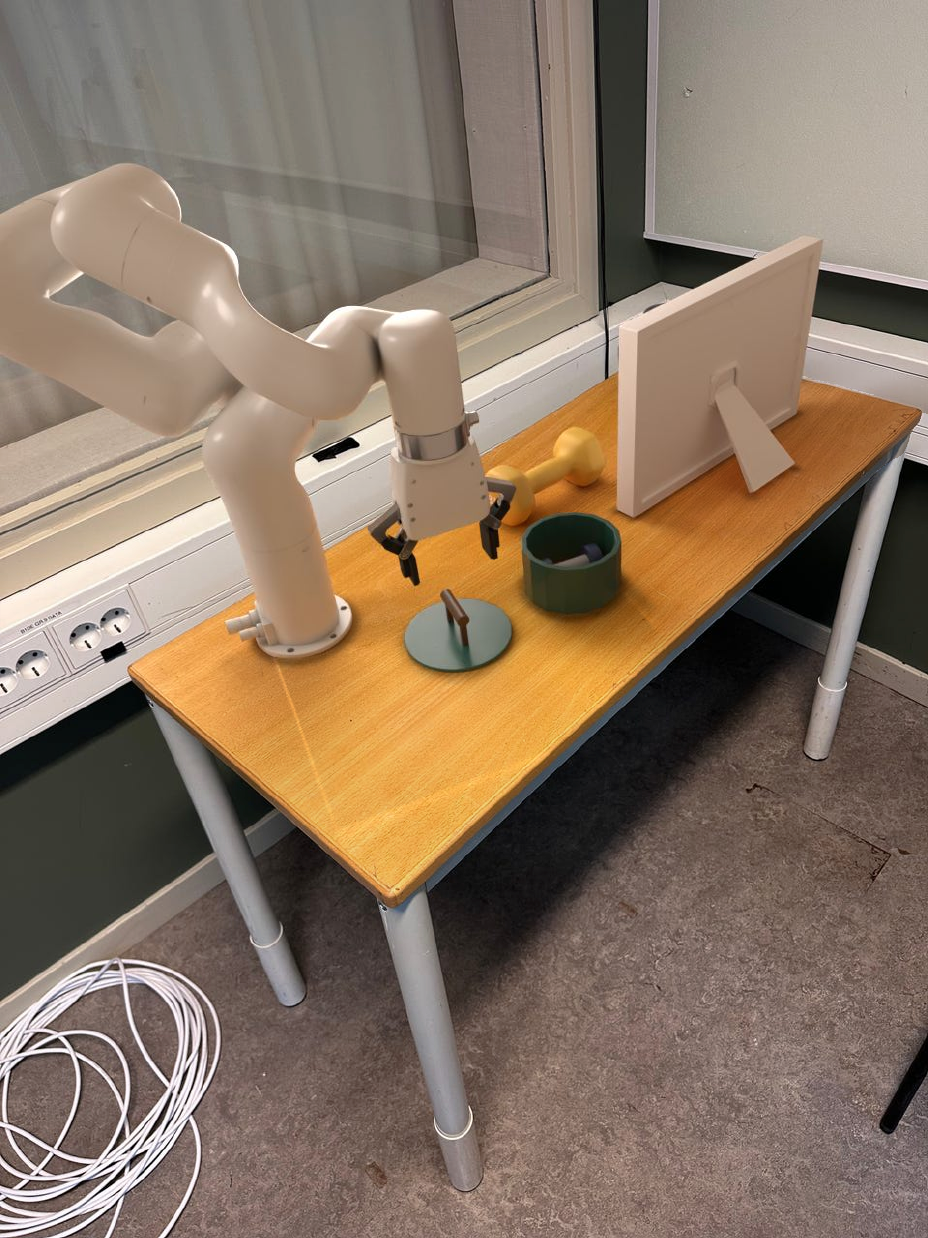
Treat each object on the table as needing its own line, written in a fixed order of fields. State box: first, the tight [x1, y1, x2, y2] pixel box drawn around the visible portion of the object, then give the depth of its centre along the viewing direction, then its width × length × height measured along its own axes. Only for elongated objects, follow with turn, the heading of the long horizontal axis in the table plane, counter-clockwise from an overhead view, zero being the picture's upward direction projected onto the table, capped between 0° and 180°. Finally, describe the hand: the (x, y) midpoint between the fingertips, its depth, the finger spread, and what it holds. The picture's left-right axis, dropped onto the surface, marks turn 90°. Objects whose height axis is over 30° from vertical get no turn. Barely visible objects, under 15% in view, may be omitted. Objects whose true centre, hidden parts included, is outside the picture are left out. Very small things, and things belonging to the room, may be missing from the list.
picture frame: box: [616, 235, 824, 519], centre depth 125 cm, size 40×12×28 cm, turn 131°
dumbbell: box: [485, 426, 607, 527], centre depth 130 cm, size 19×9×8 cm, turn 129°
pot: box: [520, 511, 623, 615], centre depth 114 cm, size 12×12×8 cm
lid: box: [403, 588, 513, 673], centre depth 109 cm, size 13×13×6 cm
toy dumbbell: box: [541, 543, 603, 567], centre depth 115 cm, size 8×4×4 cm, turn 112°
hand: (452, 566), depth 103 cm, fingers open, 9 cm apart
